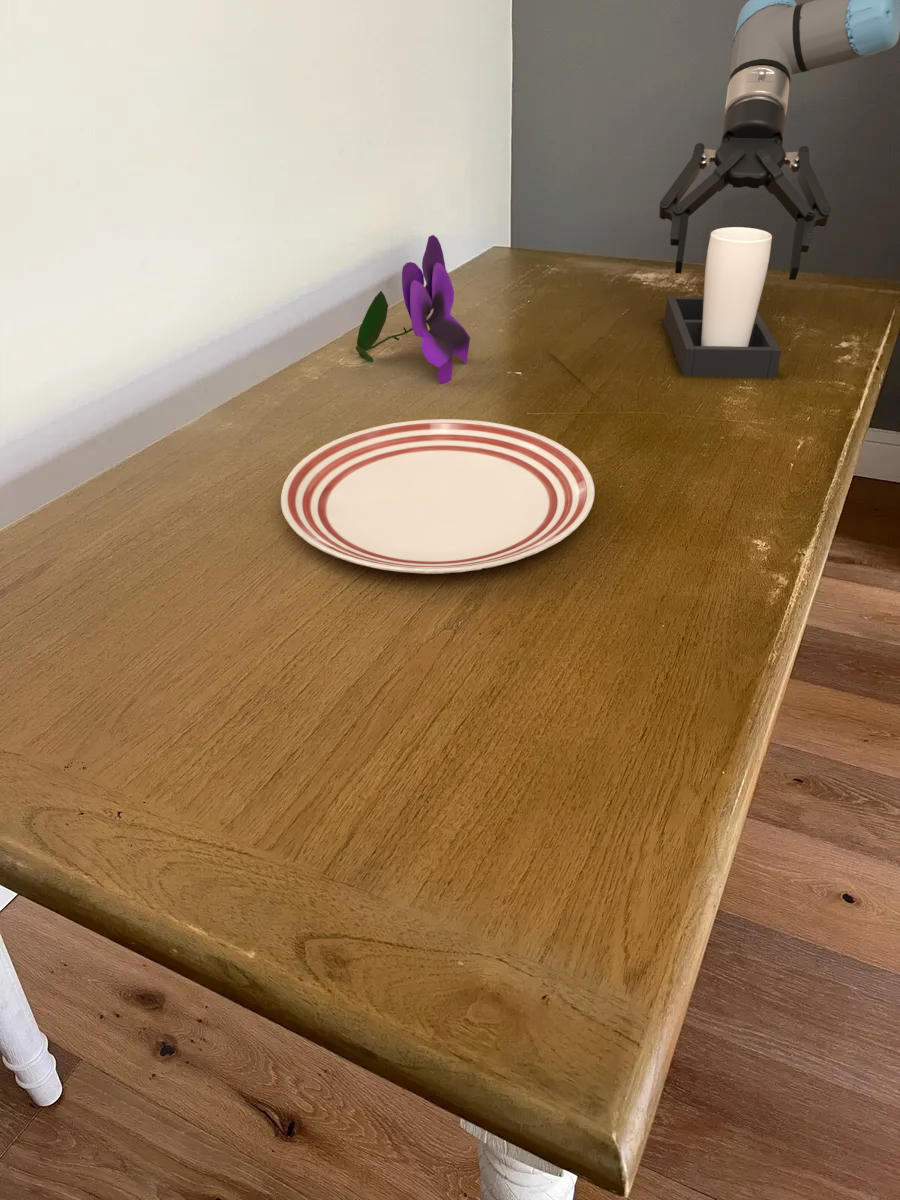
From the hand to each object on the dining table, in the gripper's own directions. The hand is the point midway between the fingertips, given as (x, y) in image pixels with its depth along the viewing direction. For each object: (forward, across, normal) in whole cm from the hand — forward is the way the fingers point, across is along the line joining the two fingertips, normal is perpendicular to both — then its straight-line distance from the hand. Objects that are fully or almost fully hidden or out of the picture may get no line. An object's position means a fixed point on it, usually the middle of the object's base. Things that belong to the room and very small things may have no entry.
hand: (735, 271), depth 116 cm
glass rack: (+10, -1, +4) cm, 10 cm away
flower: (+18, -37, -4) cm, 42 cm away
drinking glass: (+13, 0, 0) cm, 13 cm away
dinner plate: (+43, -24, -29) cm, 57 cm away
